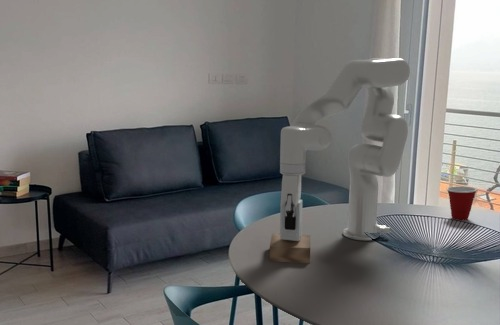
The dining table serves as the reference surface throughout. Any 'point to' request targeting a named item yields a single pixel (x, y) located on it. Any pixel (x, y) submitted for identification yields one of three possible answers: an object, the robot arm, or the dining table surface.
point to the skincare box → (296, 233)
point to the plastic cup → (461, 201)
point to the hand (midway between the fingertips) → (291, 226)
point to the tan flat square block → (290, 249)
